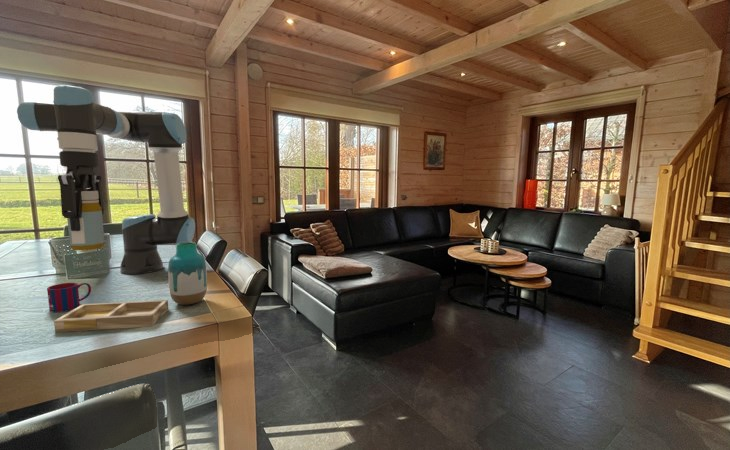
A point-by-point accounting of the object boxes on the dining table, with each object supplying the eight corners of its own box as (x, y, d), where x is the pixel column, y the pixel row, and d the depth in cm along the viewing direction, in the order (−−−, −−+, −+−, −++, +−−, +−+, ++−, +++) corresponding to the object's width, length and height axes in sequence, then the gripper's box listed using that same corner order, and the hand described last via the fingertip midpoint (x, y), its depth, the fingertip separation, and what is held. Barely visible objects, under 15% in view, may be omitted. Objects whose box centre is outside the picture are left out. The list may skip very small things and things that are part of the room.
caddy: (83, 314, 94) (82, 304, 94) (168, 309, 99) (167, 299, 98) (54, 332, 83) (53, 321, 83) (151, 326, 87) (150, 315, 87)
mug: (46, 308, 98) (44, 286, 97) (89, 299, 106) (87, 278, 105) (53, 314, 94) (50, 291, 93) (96, 304, 102) (94, 282, 101)
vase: (215, 301, 106) (212, 242, 104) (182, 312, 97) (179, 248, 95) (195, 294, 112) (192, 239, 109) (162, 304, 103) (158, 244, 100)
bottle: (85, 251, 83) (79, 191, 81) (63, 249, 85) (57, 190, 83) (111, 246, 90) (106, 190, 88) (90, 244, 91) (85, 190, 89)
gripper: (85, 153, 92) (92, 235, 95) (32, 147, 74) (44, 248, 77) (115, 154, 94) (121, 235, 97) (71, 148, 76) (81, 247, 79)
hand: (87, 240), depth 87 cm, fingers closed on bottle, 6 cm apart
